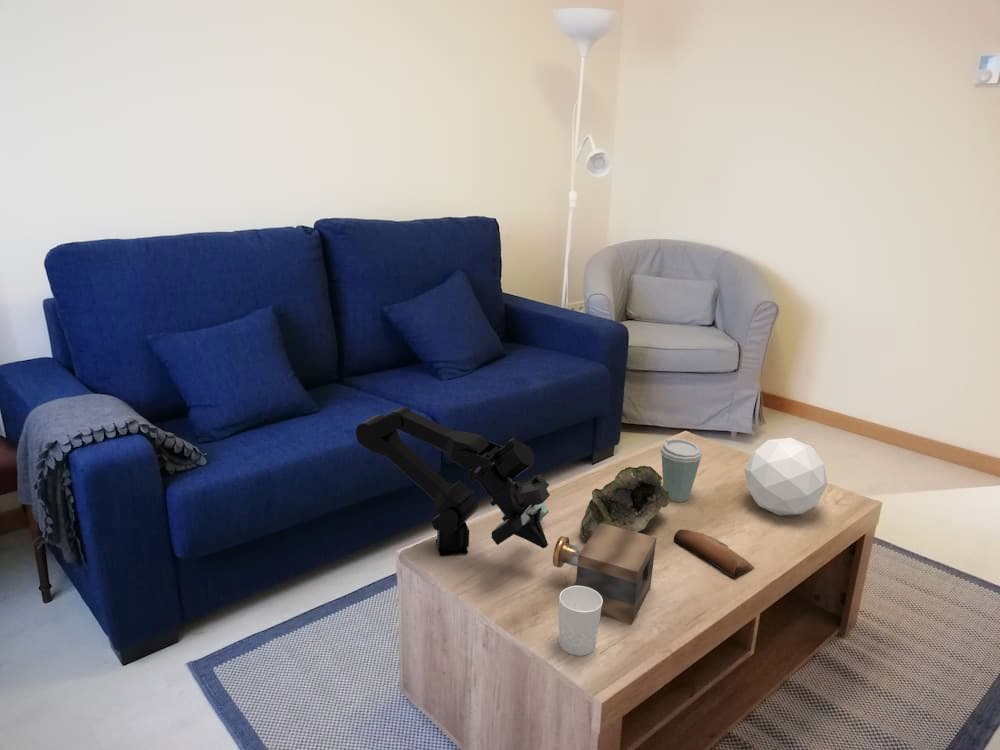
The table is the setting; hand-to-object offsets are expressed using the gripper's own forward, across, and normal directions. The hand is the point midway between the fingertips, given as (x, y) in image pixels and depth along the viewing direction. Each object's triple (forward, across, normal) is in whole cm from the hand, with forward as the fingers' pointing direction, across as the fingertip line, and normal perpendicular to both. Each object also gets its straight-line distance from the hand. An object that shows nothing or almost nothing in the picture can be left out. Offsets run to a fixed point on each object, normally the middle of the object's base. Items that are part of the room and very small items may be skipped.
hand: (546, 546), depth 155 cm
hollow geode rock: (+12, +28, -2) cm, 31 cm away
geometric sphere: (+35, +57, -24) cm, 71 cm away
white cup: (+15, -17, -4) cm, 23 cm away
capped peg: (+9, 0, -4) cm, 10 cm away
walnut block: (+16, 0, -6) cm, 17 cm away
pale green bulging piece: (-2, +20, +12) cm, 23 cm away
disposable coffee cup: (+17, +50, -7) cm, 53 cm away
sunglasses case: (+28, +26, -16) cm, 42 cm away
